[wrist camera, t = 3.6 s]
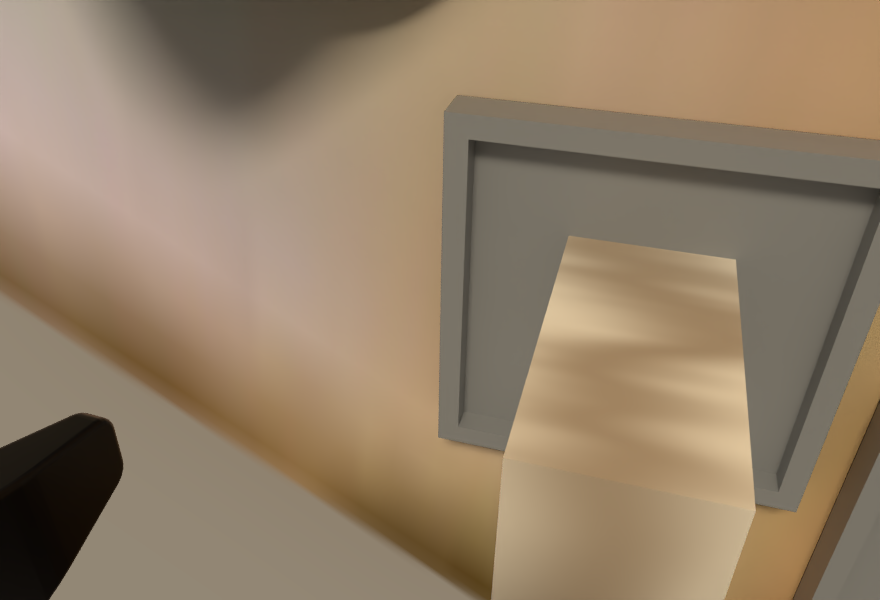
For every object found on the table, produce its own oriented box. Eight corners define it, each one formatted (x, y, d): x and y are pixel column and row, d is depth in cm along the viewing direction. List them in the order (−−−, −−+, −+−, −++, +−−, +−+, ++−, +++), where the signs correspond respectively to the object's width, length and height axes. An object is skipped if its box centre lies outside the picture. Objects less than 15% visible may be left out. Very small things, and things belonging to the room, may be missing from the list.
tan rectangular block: (735, 259, 18) (755, 511, 12) (701, 390, 21) (702, 661, 14) (568, 235, 19) (503, 457, 13) (553, 363, 21) (490, 607, 15)
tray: (920, 144, 16) (934, 166, 15) (791, 480, 22) (796, 512, 21) (457, 95, 19) (444, 111, 18) (448, 411, 24) (438, 437, 23)
